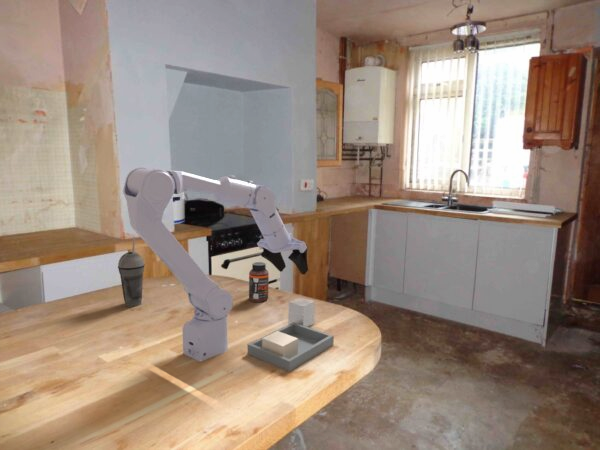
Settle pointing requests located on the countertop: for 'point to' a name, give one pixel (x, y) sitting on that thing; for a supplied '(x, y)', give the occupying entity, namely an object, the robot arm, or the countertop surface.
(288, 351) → the cream bevelled block
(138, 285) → the beverage cup
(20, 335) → the countertop surface
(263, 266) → the supplement bottle
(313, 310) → the tin
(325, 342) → the tote
